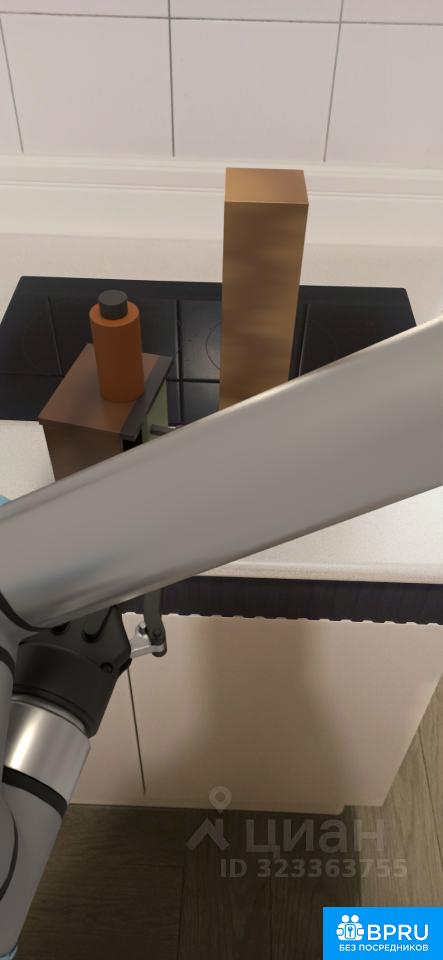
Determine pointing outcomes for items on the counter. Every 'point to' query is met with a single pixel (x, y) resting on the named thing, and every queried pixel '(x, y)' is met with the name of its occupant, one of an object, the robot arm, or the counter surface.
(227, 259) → the stand
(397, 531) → the counter surface
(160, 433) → the sliding door
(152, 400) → the cabinet
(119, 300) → the amber bottle
